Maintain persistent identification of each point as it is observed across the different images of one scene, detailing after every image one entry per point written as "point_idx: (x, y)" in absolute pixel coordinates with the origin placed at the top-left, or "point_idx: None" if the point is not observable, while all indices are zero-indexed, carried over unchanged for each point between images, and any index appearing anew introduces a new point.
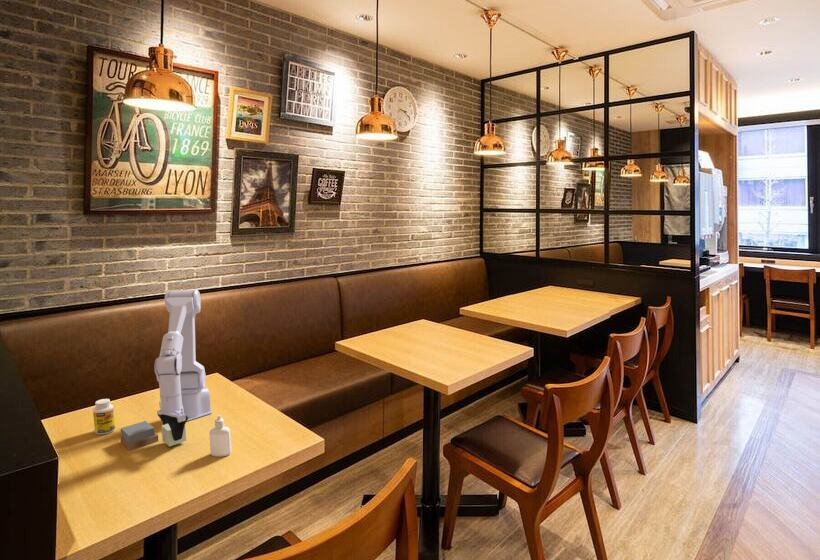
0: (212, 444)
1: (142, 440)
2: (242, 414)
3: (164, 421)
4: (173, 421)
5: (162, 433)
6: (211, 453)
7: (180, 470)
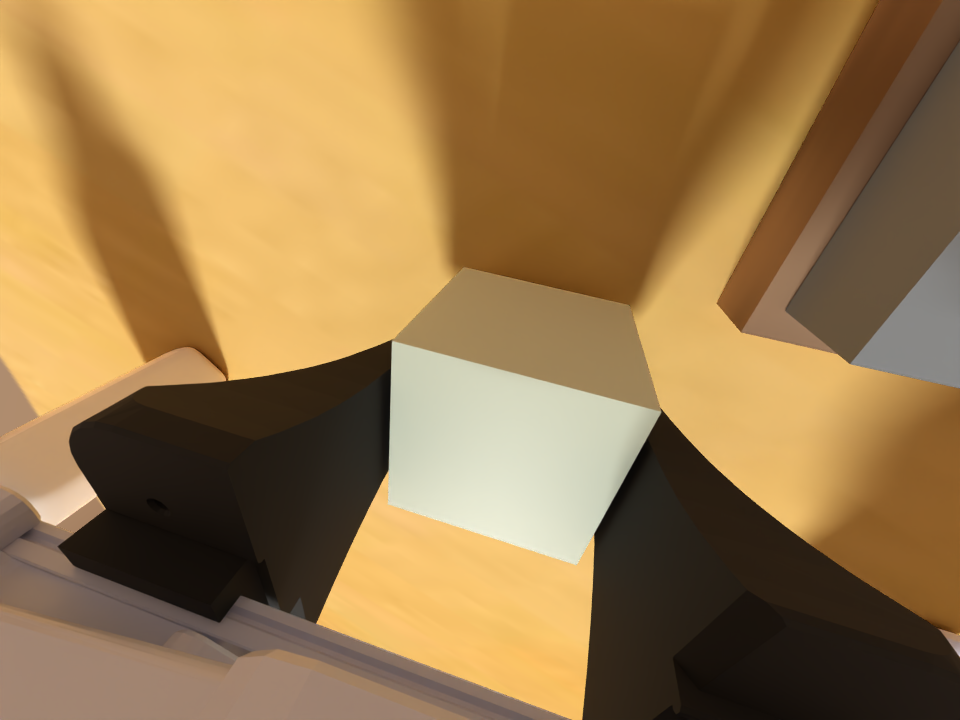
0: (94, 390)
1: (866, 120)
2: (506, 653)
3: (654, 493)
4: (86, 474)
5: (625, 342)
6: (172, 352)
7: (88, 100)
